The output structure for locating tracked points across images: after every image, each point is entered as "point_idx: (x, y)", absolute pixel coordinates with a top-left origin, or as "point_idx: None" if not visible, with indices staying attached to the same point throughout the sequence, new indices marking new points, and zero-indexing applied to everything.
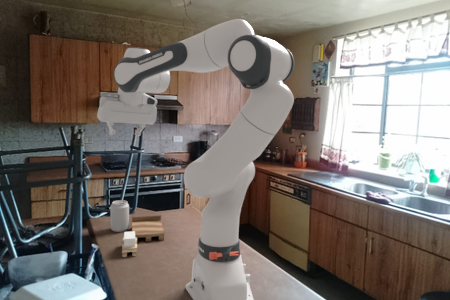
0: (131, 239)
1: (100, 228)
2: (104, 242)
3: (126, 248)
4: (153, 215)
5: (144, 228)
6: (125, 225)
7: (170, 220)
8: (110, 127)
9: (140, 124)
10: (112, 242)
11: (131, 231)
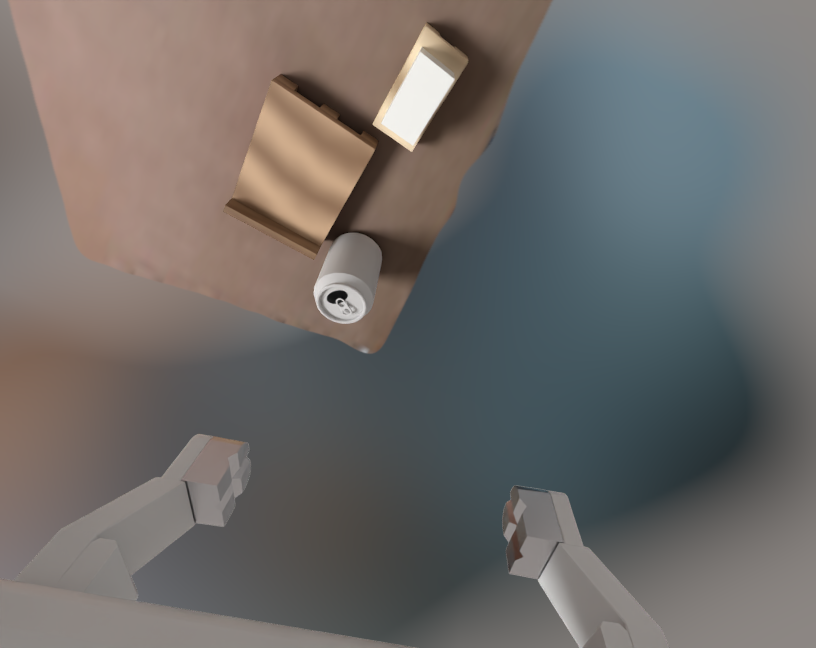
0: (432, 61)
1: (394, 289)
2: (439, 201)
3: (454, 55)
4: (248, 224)
5: (314, 171)
6: (348, 239)
7: (189, 212)
8: (625, 593)
9: (110, 596)
10: (423, 185)
11: (392, 130)
